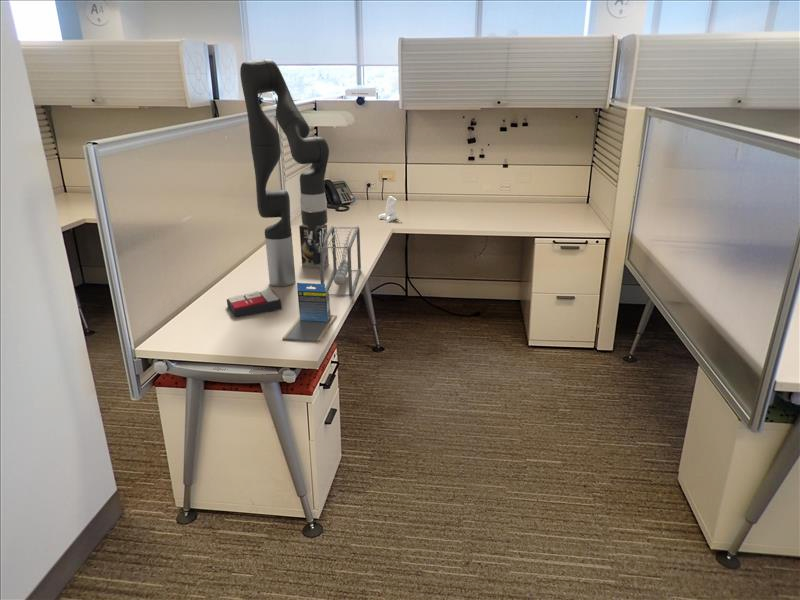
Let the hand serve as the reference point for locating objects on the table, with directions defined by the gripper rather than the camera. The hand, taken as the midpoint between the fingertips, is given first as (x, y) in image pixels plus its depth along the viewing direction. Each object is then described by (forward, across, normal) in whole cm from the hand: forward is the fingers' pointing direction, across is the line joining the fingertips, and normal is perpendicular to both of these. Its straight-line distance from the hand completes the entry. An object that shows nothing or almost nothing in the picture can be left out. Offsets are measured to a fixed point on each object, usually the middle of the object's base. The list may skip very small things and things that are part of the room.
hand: (317, 263), depth 175 cm
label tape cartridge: (+16, +7, 0) cm, 17 cm away
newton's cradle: (+17, -27, 0) cm, 32 cm away
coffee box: (+18, -46, -16) cm, 52 cm away
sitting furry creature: (+19, -123, -1) cm, 124 cm away
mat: (+16, +12, +1) cm, 20 cm away
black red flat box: (+17, 0, -22) cm, 28 cm away
